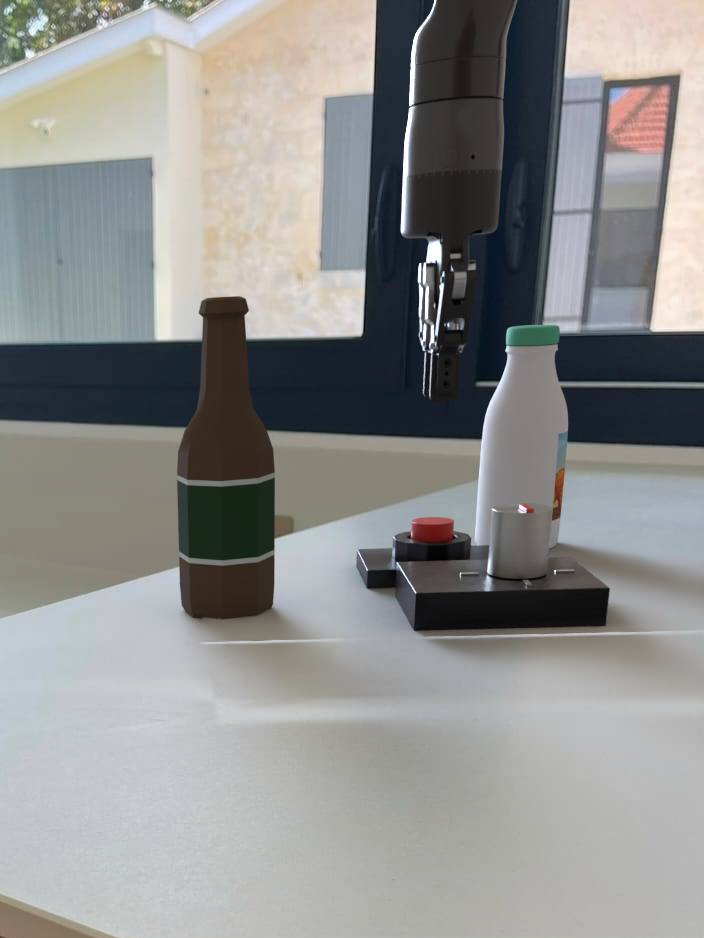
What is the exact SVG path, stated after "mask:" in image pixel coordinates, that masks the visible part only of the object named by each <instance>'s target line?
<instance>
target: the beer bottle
mask: <svg viewBox="0 0 704 938" xmlns="http://www.w3.org/2000/svg"><path fill="white" fill-rule="evenodd" d="M248 312H250V309H249V305H248V302H247V298H245V297H243V296H239V295H235V296H234V295H233V296H217V297H216V296H215V297H205V298H203V300H201V301H200V305H199V310H198V315H199V316H201V317H202V329H201V331H202V334H201V357H200V379H199V381H200V383H199V384H200V386H199V395H198V400H197V407H196V410H195V413H194V415H193V416H192V417H191V419H190V421H189V423H188V424H187V426H186V428H185V429H184V431H183V434H182V438H181V440H180V444H179V447H178V451H177V466H176V487H177V488H176V491H177V520H178V521H177V527H178V529H177V531H178V533H177V534H178V565H179V566H178V567H179V590H180V602H181V603H180V604H181V606H182V609H183V610H184V611H185V612H186V613H187V614H189V615H190V616H191V617H192V618H197V619H203V618H207V619H216V620H217V619H218V620H230V619H239V618H248V617H249V618H250V617H257V616H258V615H261V614H263V613H265V612H266V611H268V610H270V609H272V607H273V605H274V598H275V596H274V594H275V564H276V563H275V561H276V560H275V558H276V557H275V549H276V548H275V546H276V545H275V541H276V539H275V537H276V534H275V532H276V531H275V530H276V529H275V528H276V523H275V522H276V516H275V515H276V513H275V512H276V470H275V469H276V468H275V455H274V447H273V444H272V441H271V438H270V436H269V432H268V430H267V427H266V426H265V424H264V423H263V421H262V420H261V419H260V417H259V415H258V414H257V412H256V411H255V409H254V407H253V401H252V395H251V390H250V379H249V378H250V377H249V363H248V361H249V360H248V348H247V347H248V346H247V331H246V315H247V314H248Z"/></svg>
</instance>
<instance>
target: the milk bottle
mask: <svg viewBox="0 0 704 938" xmlns="http://www.w3.org/2000/svg"><path fill="white" fill-rule="evenodd" d="M560 331H561V328H560V326H559V325H558V324H557V325H556V324H528V325H515V326H510V327H508V328H507V330H506V335H505V344H506V348H505V353H506V355H507V357H506V359H507V360H506V365H505V367H504V371H503V373H502V376H501V379H500V381H499V383H498V385H497V387H496V389H495V391H494V393H493V395H492V397H491V399H490V401H489V403H488V406H487V409H486V413H485V416H484V421H483V427H482V436H481V446H480V457H479V470H478V471H479V473H478V484H477V496H476V497H477V500H476V513H475V529H474V542H475V544H476V546H478V545H489V542H490V529H491V515H492V508H493V507H494V506H497V505H502V504H512V503H532V504H542V505H547V506H550V507H552V509H553V510H552V521H551V532H550V543H549V550H550V549H553V548H554V547H556V545H557V543H558V542H559V536H560V535H559V534H560V527H561V515H562V505H563V495H564V484H565V475H566V472H565V470H566V462H567V450H568V435H569V414H568V405H567V402H566V401H567V400H566V398H565V394H564V392H563V389H562V388H561V384H560V381H559V378H558V373H557V368H556V362H555V361H556V358H555V357H556V353H557V351H558V350H559V348H558V346H559V341H560V333H561V332H560Z"/></svg>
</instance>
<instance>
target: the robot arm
mask: <svg viewBox="0 0 704 938" xmlns="http://www.w3.org/2000/svg"><path fill="white" fill-rule="evenodd" d="M517 4H518V0H434V3H433V5H432V8H431V11H430V12H429V14H428V16H426V18H425V20H424V21H423V22H422V23H421V24H420V25H419V27H418V29H417V31H416V33H415V35H414V38H413V43H412V48H411V57H410V60H411V61H410V76H409V77H410V80H409V99H408V100H409V105H408V107H409V108H408V118H407V125H406V131H405V137H404V148H403V170H402V171H403V172H402V193H401V214H400V215H401V216H400V217H401V218H400V233H401V235H402V237H404V238H405V239H426V240H427V242H428V245H427V253H426V254H427V255H426V261H425V262H421V263H419V265H418V275H417V276H418V277H417V284H418V294H419V295H418V296H419V297H418V299H419V304H418V305H419V307H418V318H419V332H418V338H419V343H421V347H422V351H423V352H424V360H423V362H424V364H423V383H422V395H423V397H425V398H426V399H429V400H430V401H431V402H433V403H445V402H447V403H448V402H450V403H451V402H455V400H457V398H458V393H459V392H458V391H459V378H460V375H459V374H460V362H461V361H460V360H461V353H462V352H463V351H464V348H465V346H467V345H468V341H469V340H470V328H471V320H472V313H473V308H474V300H475V293H476V286H477V282H478V281H479V280H478V279H479V275H478V273H477V263H476V260H475V259H473V260H470V258H471V257H470V241H469V239H470V237H472V236H479V235H487V234H492V233H494V232H495V231H496V230H497V229H498V226H499V215H500V200H501V185H502V171H503V157H504V141H505V121H504V100H503V99H504V94H505V93H504V91H505V79H506V78H505V77H506V64H507V63H506V60H507V40H508V39H507V38H508V33H509V30H510V26H511V22H512V18H513V16H514V13H515V10H516V6H517Z"/></svg>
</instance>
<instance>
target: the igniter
mask: <svg viewBox="0 0 704 938" xmlns="http://www.w3.org/2000/svg"><path fill="white" fill-rule="evenodd" d="M488 556H489V545H472V537H471V536H470V534H468V533H467V532H460V531H456V530H454V531H453V540H448V541H439V542H426V541H415V540H411V530H410V531H403V532H400V533H397V534H395V535H393V536H392V547H385V548H357V549H356V562H355V563H356V564H355V565H356V569H357V571H358V573H359V575H360V577H361V579H362V582H363V584H364V586H365V588H366V590H367V589H372V590H373V589H395V587H396V564H397V562H417V561H451V560H485V559H488Z"/></svg>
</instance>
